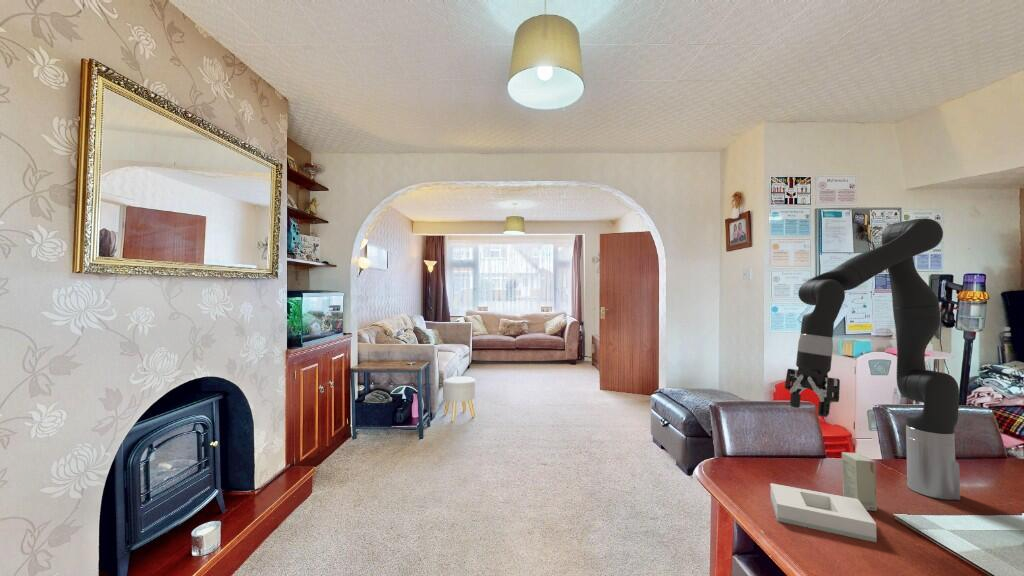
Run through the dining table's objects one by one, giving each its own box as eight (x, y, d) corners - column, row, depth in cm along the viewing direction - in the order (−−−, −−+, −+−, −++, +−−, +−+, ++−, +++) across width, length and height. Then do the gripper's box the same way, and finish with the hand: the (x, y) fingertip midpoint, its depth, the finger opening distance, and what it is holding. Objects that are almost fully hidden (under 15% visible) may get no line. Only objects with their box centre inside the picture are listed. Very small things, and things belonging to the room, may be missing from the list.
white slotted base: (858, 515, 96) (857, 499, 97) (876, 542, 86) (876, 523, 86) (770, 498, 105) (770, 483, 105) (777, 521, 94) (777, 503, 94)
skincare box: (877, 512, 98) (876, 462, 99) (857, 510, 99) (856, 460, 99) (860, 499, 105) (859, 452, 105) (841, 497, 105) (841, 451, 106)
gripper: (852, 357, 102) (845, 421, 101) (803, 350, 116) (798, 405, 115) (826, 354, 101) (819, 418, 100) (781, 347, 115) (775, 403, 114)
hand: (808, 411), depth 108 cm, fingers open, 8 cm apart
